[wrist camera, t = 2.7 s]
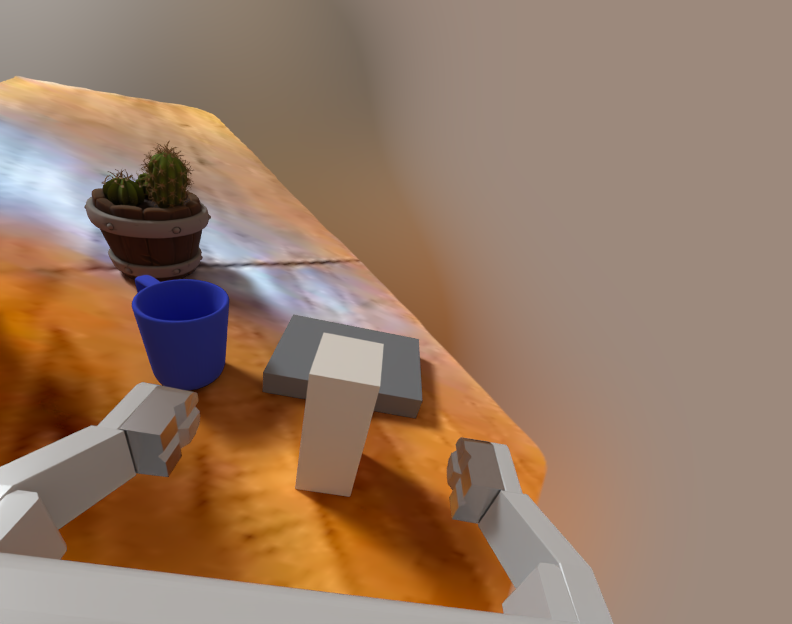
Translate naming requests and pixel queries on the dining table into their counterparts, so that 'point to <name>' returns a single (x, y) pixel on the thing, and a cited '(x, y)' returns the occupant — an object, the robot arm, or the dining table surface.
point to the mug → (182, 329)
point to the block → (338, 413)
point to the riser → (305, 334)
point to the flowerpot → (151, 219)
